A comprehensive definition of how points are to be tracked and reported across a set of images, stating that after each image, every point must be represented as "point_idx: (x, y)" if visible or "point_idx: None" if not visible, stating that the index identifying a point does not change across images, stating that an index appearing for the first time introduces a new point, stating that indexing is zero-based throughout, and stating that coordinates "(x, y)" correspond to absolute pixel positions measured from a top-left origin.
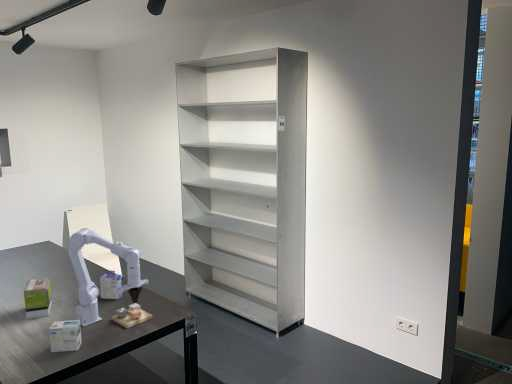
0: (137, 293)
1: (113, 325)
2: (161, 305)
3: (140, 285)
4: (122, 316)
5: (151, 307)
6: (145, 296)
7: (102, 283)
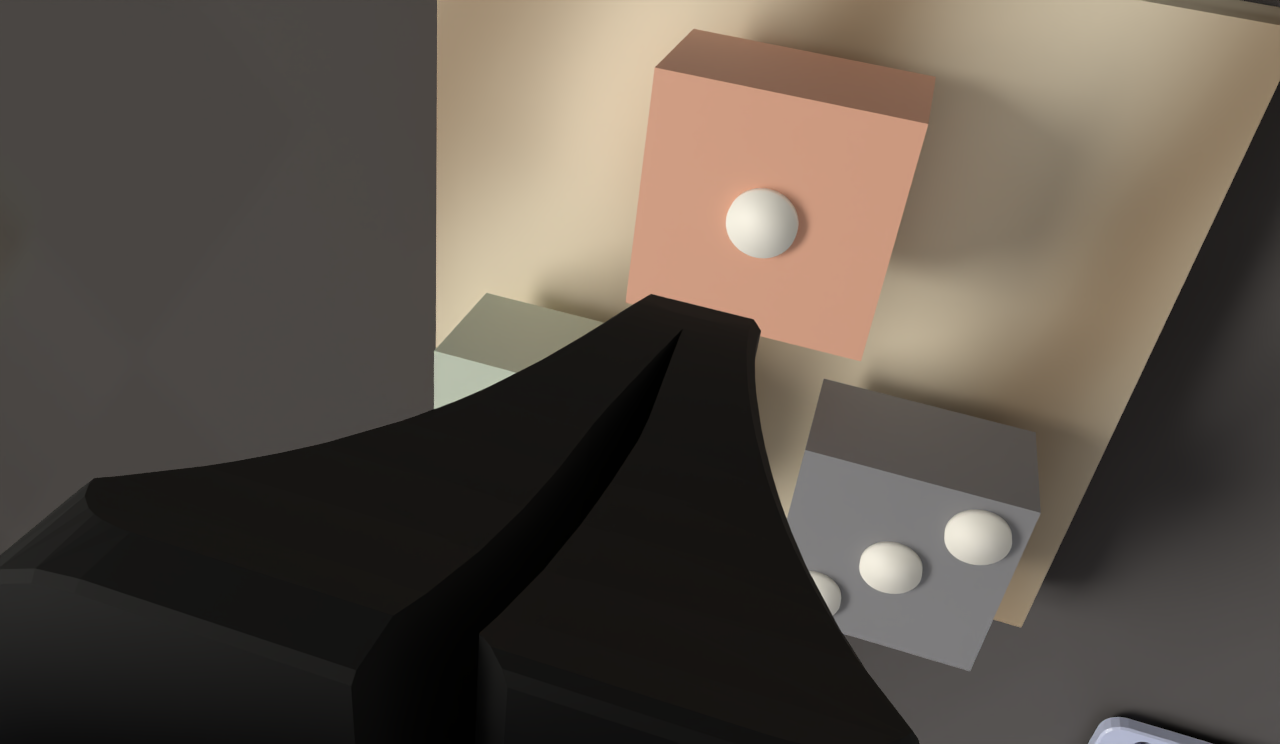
0: (517, 495)
1: (1245, 404)
2: (37, 159)
3: None
4: (980, 423)
5: (216, 269)
6: None
7: None
